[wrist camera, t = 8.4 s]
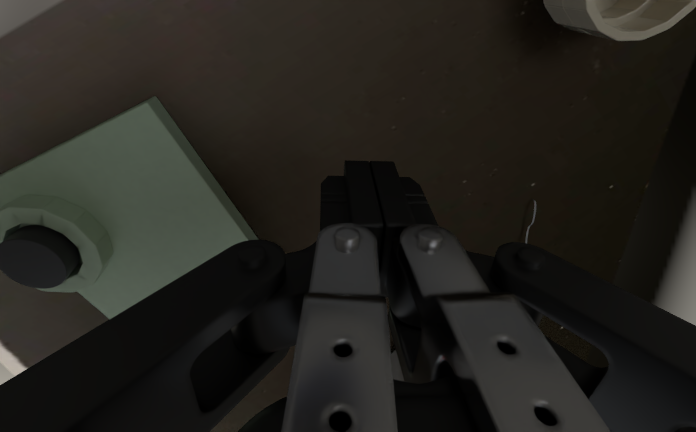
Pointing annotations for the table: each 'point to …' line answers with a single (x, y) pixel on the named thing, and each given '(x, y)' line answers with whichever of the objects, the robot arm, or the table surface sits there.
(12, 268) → the button
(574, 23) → the bowl
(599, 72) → the table surface
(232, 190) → the table surface
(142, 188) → the scale
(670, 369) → the robot arm
